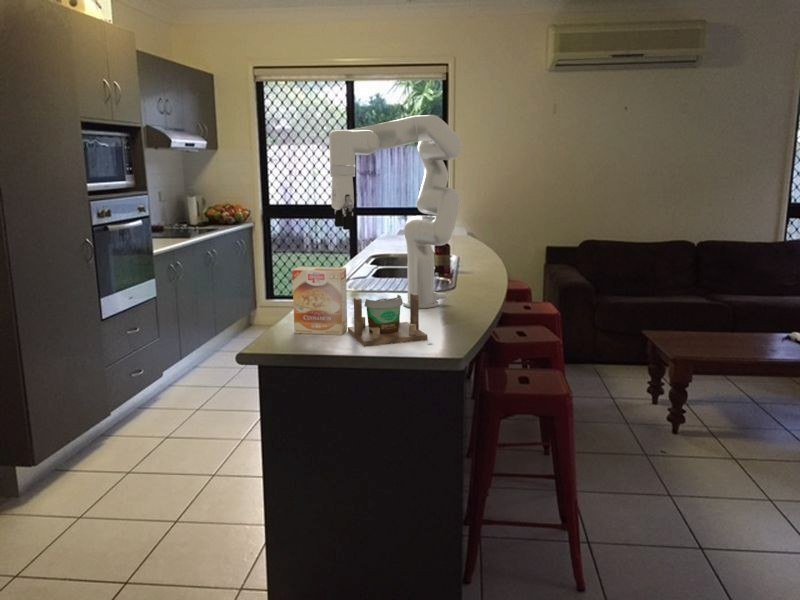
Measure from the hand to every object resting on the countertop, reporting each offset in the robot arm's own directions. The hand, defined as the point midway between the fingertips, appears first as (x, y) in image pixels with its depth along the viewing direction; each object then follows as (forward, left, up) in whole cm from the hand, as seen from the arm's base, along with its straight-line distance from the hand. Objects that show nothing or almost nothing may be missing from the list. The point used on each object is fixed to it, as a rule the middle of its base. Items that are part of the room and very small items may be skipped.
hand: (344, 228), depth 206 cm
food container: (-7, +21, -29) cm, 37 cm away
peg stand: (-7, +20, -30) cm, 37 cm away
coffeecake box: (+10, +8, -31) cm, 33 cm away
